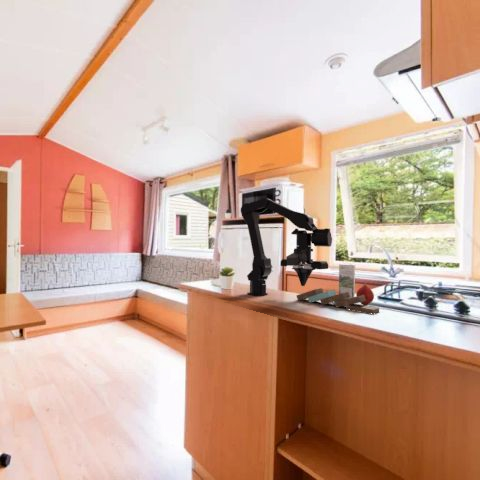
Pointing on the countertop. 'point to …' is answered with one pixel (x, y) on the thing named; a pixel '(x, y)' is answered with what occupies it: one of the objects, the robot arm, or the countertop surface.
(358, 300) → the domino
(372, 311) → the domino
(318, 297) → the domino
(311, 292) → the domino
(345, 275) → the syrup box
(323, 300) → the domino
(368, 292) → the onion
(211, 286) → the countertop surface
